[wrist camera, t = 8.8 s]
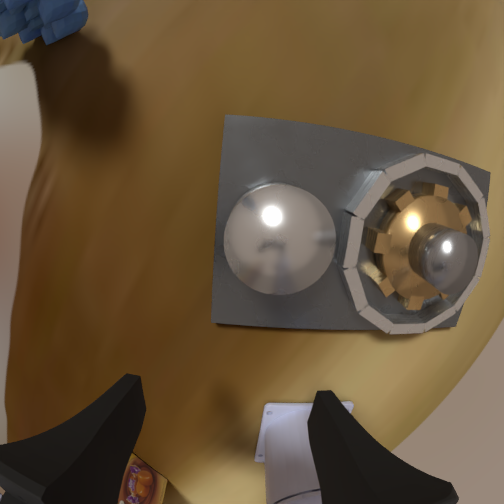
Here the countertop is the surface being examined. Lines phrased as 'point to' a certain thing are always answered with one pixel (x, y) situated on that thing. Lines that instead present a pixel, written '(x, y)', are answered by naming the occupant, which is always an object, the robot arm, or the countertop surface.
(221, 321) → the gear carrier
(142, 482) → the candy box
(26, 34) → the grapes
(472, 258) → the planet gear
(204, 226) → the countertop surface
